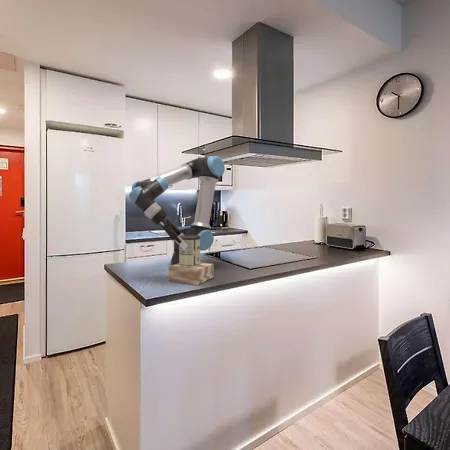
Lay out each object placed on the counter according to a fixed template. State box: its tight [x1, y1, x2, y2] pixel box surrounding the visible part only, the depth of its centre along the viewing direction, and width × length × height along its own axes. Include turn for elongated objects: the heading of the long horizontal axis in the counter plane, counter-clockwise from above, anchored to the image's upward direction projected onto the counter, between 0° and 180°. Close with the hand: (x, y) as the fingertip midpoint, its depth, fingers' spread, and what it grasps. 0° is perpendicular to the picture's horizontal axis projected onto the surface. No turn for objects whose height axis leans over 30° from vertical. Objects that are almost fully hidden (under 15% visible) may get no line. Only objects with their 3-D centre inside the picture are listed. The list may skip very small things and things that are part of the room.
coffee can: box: [179, 235, 201, 267], centre depth 149 cm, size 10×10×14 cm
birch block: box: [168, 261, 215, 286], centre depth 150 cm, size 16×16×7 cm
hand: (187, 245), depth 148 cm, fingers open, 13 cm apart
